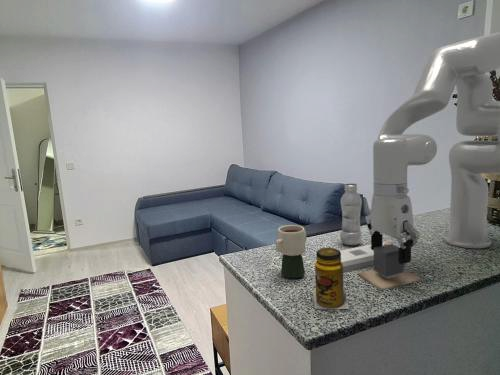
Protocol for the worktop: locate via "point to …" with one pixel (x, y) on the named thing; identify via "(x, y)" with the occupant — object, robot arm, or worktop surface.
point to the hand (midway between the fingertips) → (390, 255)
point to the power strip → (358, 257)
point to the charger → (387, 261)
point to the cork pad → (385, 283)
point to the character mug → (291, 249)
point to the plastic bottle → (351, 215)
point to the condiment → (329, 280)
